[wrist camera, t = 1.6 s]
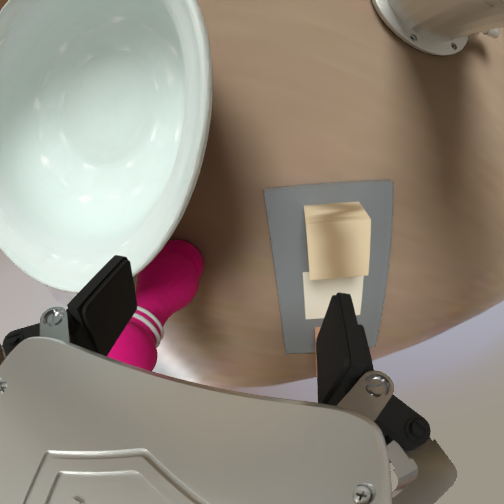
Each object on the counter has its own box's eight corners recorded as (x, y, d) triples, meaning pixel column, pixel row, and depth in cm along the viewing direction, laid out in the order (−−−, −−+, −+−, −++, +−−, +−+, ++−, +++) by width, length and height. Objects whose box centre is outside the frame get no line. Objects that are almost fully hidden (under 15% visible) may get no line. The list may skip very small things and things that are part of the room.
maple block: (358, 201, 27) (371, 219, 23) (358, 251, 30) (368, 275, 26) (303, 205, 28) (305, 224, 24) (307, 255, 31) (309, 280, 27)
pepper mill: (217, 274, 35) (162, 412, 18) (174, 288, 38) (109, 407, 20) (190, 227, 32) (99, 352, 15) (147, 246, 35) (56, 357, 17)
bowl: (126, 271, 37) (72, 339, 25) (15, 129, 28) (-53, 153, 15) (313, 115, 24) (337, 117, 12) (136, -41, 15) (69, -80, 2)
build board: (390, 179, 26) (393, 182, 25) (374, 341, 38) (375, 347, 37) (264, 188, 29) (263, 191, 28) (286, 349, 40) (285, 354, 40)
